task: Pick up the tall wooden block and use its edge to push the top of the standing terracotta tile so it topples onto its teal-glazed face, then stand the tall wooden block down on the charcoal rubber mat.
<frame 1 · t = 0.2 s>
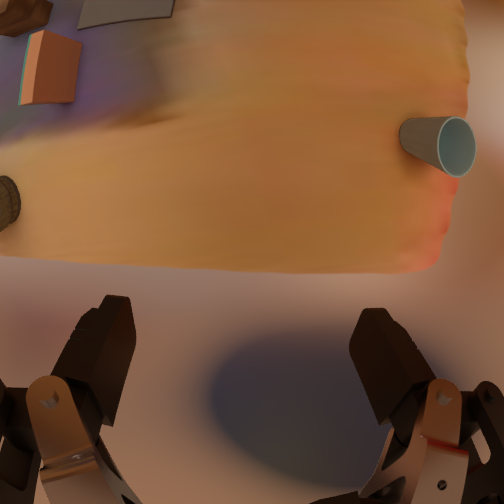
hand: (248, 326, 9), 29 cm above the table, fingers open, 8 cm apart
tile: (70, 73, 26), on the table
cup: (412, 136, 34), on the table
tall wooden block: (32, 20, 19), on the table
olive canister: (5, 198, 33), on the table
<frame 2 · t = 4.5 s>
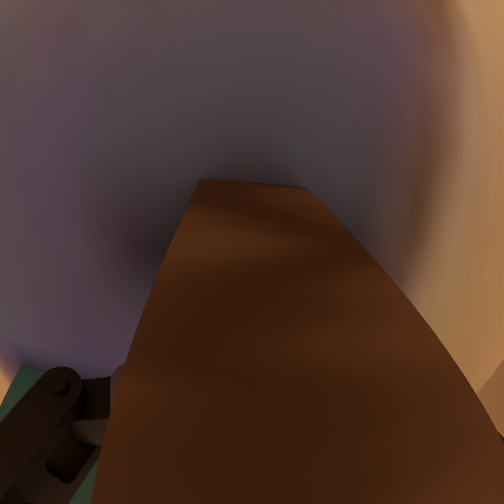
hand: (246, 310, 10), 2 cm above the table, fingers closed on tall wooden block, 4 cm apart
tile: (70, 387, 15), on the table
tall wooden block: (244, 276, 12), on the table, touching gripper
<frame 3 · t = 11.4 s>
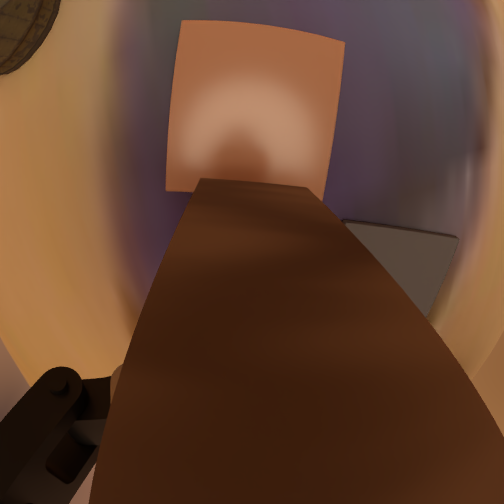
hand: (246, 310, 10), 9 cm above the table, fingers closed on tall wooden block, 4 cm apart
tile: (244, 190, 17), point 1 cm above the table, tilted 90°
tall wooden block: (244, 275, 12), point 7 cm above the table, touching gripper
rest mat: (382, 302, 22), on the table
olive canister: (21, 25, 9), on the table
when the fingers open (4 cm above the table, at t = 16.7 s): tall wooden block stays where it is, resting on rest mat.
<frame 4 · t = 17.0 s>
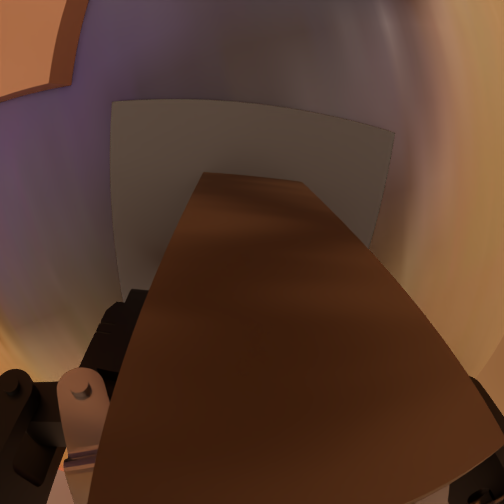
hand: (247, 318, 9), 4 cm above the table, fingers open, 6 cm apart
tile: (0, 100, 8), point 1 cm above the table, tilted 90°
tall wooden block: (242, 263, 13), point 1 cm above the table, touching rest mat
rest mat: (242, 258, 13), on the table
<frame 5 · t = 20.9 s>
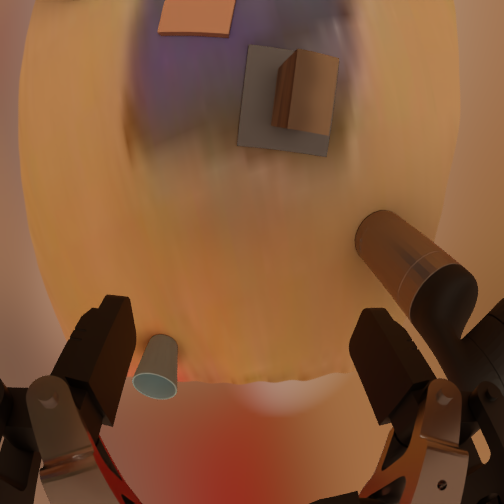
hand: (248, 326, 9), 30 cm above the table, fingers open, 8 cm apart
tile: (193, 34, 26), point 1 cm above the table, tilted 90°
cup: (163, 343, 49), on the table
tall wooden block: (290, 98, 32), point 1 cm above the table, touching rest mat
rest mat: (289, 99, 32), on the table
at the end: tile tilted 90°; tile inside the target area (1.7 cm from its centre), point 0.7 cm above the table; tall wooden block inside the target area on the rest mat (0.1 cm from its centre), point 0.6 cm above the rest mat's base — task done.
